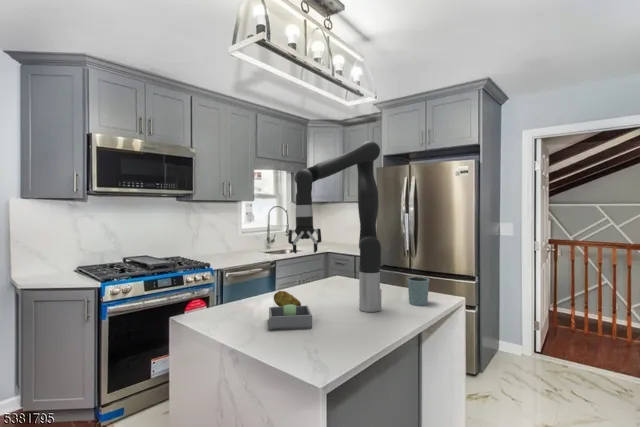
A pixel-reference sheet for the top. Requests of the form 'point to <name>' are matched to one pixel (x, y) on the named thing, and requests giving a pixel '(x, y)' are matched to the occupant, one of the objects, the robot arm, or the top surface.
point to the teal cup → (418, 290)
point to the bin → (290, 319)
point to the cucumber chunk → (289, 310)
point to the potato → (285, 299)
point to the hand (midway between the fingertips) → (305, 252)
